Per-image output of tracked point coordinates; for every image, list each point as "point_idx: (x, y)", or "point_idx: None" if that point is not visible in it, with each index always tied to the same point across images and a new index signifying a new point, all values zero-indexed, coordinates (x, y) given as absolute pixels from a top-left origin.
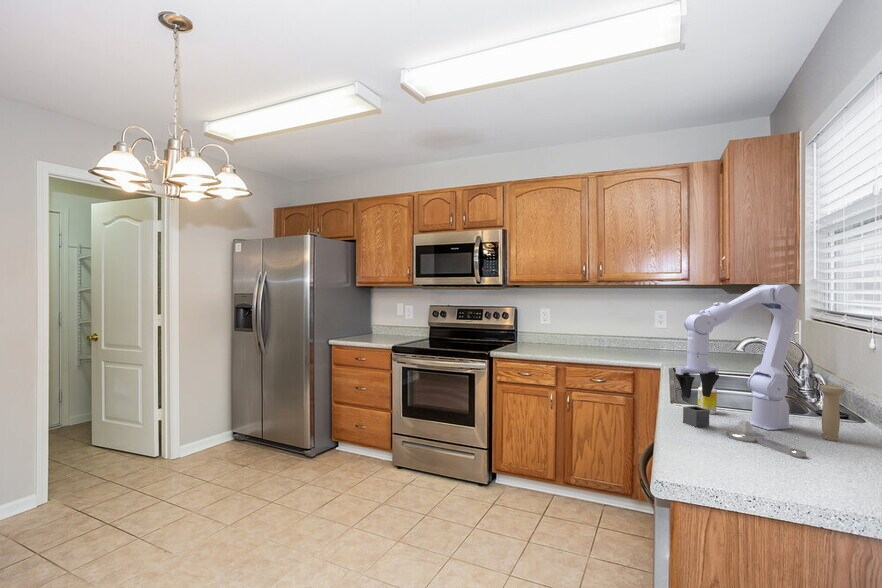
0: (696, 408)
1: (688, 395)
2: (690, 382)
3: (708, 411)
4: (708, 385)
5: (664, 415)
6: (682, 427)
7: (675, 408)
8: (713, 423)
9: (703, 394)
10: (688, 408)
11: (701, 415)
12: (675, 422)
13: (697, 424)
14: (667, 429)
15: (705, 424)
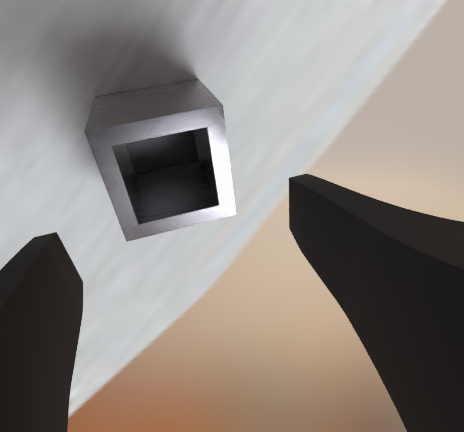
0: (137, 215)
1: (324, 181)
2: (458, 239)
3: (96, 126)
4: (17, 347)
5: (220, 272)
6: (273, 88)
7: (99, 367)
8: (22, 161)
9: (78, 284)
10: (228, 180)
11: (166, 105)
12: (246, 174)
13: (191, 84)
14: (376, 57)
15: (125, 95)
